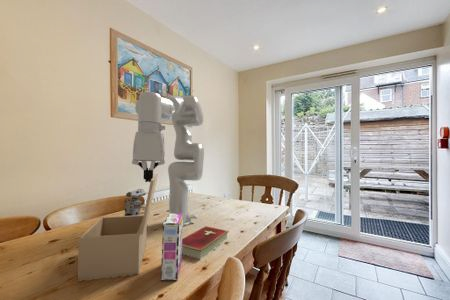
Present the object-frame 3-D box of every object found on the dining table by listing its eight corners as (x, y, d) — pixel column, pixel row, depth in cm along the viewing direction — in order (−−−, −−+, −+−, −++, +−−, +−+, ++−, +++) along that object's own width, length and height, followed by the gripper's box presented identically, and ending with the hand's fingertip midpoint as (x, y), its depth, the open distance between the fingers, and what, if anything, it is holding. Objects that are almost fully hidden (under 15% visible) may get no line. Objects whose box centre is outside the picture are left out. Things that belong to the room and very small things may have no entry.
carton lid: (147, 215, 84) (149, 215, 84) (139, 234, 64) (142, 234, 65) (155, 173, 85) (158, 174, 85) (150, 180, 65) (153, 180, 65)
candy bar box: (178, 281, 61) (179, 223, 61) (160, 281, 61) (161, 223, 61) (182, 261, 72) (183, 212, 73) (167, 261, 72) (168, 212, 72)
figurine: (149, 216, 122) (150, 189, 122) (130, 221, 113) (130, 192, 113) (140, 213, 128) (141, 187, 128) (121, 217, 118) (122, 190, 118)
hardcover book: (173, 253, 79) (173, 242, 79) (204, 234, 97) (204, 225, 97) (200, 262, 73) (200, 249, 73) (228, 240, 92) (228, 230, 92)
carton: (146, 245, 84) (146, 214, 84) (138, 274, 64) (139, 234, 64) (100, 249, 80) (101, 217, 80) (77, 281, 60) (78, 238, 61)
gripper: (171, 130, 80) (170, 180, 80) (128, 128, 77) (127, 180, 76) (171, 128, 73) (170, 182, 72) (123, 126, 69) (122, 183, 69)
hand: (148, 181), depth 74 cm, fingers closed
